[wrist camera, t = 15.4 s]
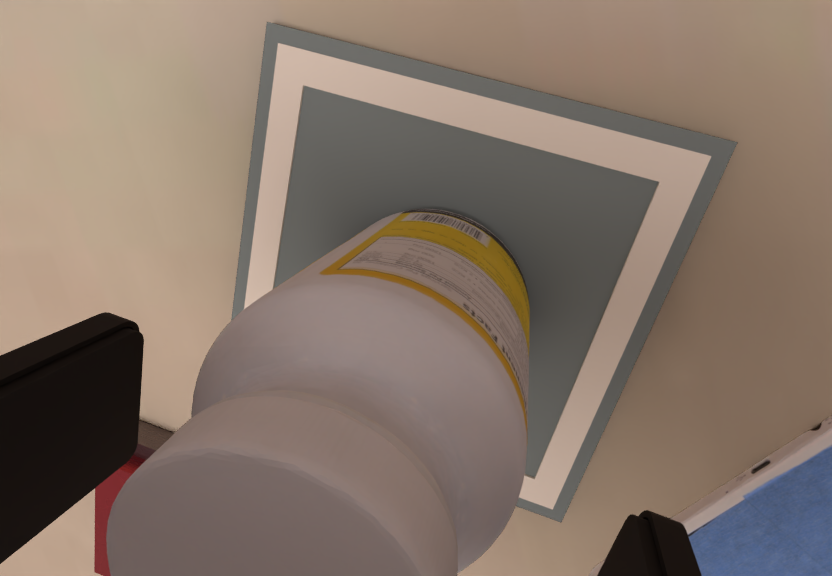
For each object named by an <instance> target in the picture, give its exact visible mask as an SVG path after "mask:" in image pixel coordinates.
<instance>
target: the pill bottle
mask: <svg viewBox="0 0 832 576" xmlns="http://www.w3.org/2000/svg"><path fill="white" fill-rule="evenodd" d="M529 324H530V307H529V296H528V291H527V286H526V282H525V279H524V276H523V274H522V272H521V269H520V267H519V265H518V263H517V261H516V260H515V258H514V257H513V255H512V254H511V252H510V251H509V250H508V248H507V247H506V246H505V245H504V244H503V243H502V241H501V240H500V239H498V238H497V237H496V236H495V235H494V234H493V233H492V232H490V231H489V230H488V229H486V228H485V227H484V226H482V225H480V224H479V223H477V222H475V221H473V220H471V219H469V218H467V217H464V216H461V215H459V214H455V213H452V212H448V211H443V210H436V209H415V210H408V211H403V212H399V213H396V214H393V215H390V216H388V217H385V218H383V219H381V220H379V221H377V222H376V223H374V224H372V225H370V226H369V227H367V228H366V229H364V230H363V231H362V232H360V233H358V234H357V235H356V236H354V237H353V238H351V239H350V240H348V241H347V242H345V243H343V244H342V245H340V246H338V247H337V248H335V249H334V250H332V251H331V252H329V253H327V254H326V255H324V256H323V257H321V258H320V259H318V260H317V261H315V262H313V263H312V264H310V265H309V266H307V267H306V268H304V269H303V270H301V271H300V272H299V273H297V274H296V275H294V276H293V277H291V278H289V279H288V280H286V281H285V282H283V283H282V284H280V285H279V286H277V287H276V288H274V289H273V290H271V291H270V292H268V293H267V294H265V295H263V296H262V297H260V298H259V299H258V300H256V301H255V302H253V303H252V304H251V305H249V306H248V307H247V308H245V309H244V310H243V311H241V312H240V313H239V314H238V315H237V316H236V317H235V318H234V319H233V320H232V321H231V322H230V323H229V324H228V325H227V326H226V327H225V328H224V329H223V331H222V332H221V333H220V334H219V336H218V337H217V339H216V340H215V342H214V343H213V345H212V346H211V348H210V350H209V352H208V353H207V355H206V357H205V360H204V362H203V364H202V367H201V369H200V372H199V375H198V378H197V381H196V386H195V390H194V395H193V404H192V418H191V419H190V420H189V421H187V422H186V423H185V424H184V425H183V426H182V427H181V428H179V429H178V430H177V431H176V432H175V433H174V434H173V435H172V436H171V437H170V438H169V439H168V440H167V441H166V442H165V443H164V444H163V445H162V446H161V447H160V448H159V449H158V450H157V451H156V452H154V453H153V454H152V455H151V456H150V457H149V458H148V459H147V460H146V461H145V462H144V463H143V464H142V465H141V466H140V467H139V468H138V469H137V470H136V471H135V472H134V473H133V474H132V475H131V476H130V477H129V479H128V480H127V481H126V482H125V484H124V485H123V487H122V488H121V490H120V492H119V493H118V495H117V497H116V499H115V501H114V503H113V505H112V508H111V511H110V515H109V519H108V524H107V535H106V543H107V556H108V563H109V569H110V574H111V576H457V573H459V572H460V571H462V570H464V569H465V568H466V567H468V566H469V565H470V564H472V563H473V562H474V561H476V560H477V559H478V558H479V557H481V556H482V555H483V554H484V553H485V552H486V551H487V550H488V549H489V548H490V547H491V545H492V544H493V543H494V541H495V540H496V539H497V538H498V536H499V535H500V534H501V532H502V531H503V529H504V528H505V526H506V524H507V522H508V521H509V519H510V517H511V515H512V513H513V511H514V508H515V506H516V504H517V501H518V498H519V495H520V491H521V488H522V484H523V480H524V474H525V466H526V453H527V436H528V385H529Z"/></svg>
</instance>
